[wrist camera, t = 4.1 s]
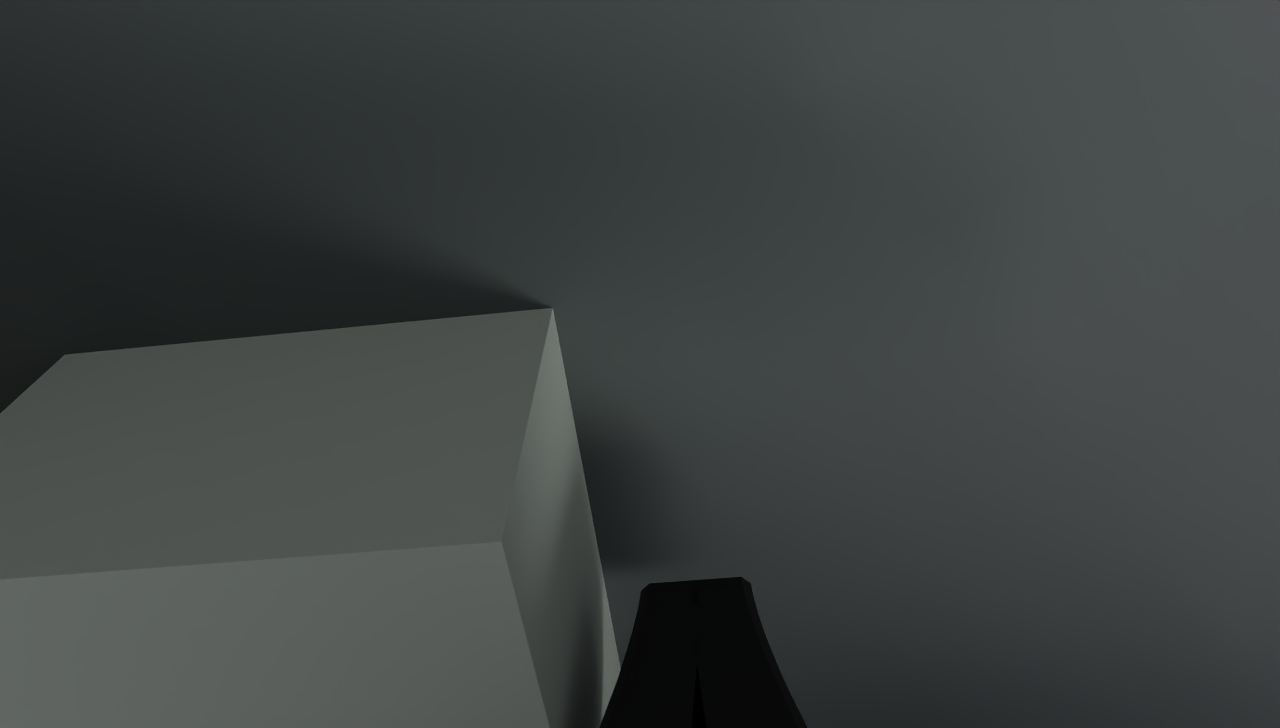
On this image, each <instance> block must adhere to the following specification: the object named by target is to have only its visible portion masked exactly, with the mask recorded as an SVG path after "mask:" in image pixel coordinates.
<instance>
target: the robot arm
mask: <svg viewBox="0 0 1280 728" xmlns="http://www.w3.org/2000/svg"><path fill="white" fill-rule="evenodd" d="M599 728H807V726H806V724H805V722H804V720H803V718H802V716H801V714H800V712H799V710H798V708H797V706H796V704H795V702H794V700H793V698H792V696H791V694H790V692H789V690H788V688H787V685H786V683H785V681H784V679H783V677H782V674H781V672H780V670H779V668H778V665H777V663H776V660H775V658H774V655H773V653H772V650H771V648H770V646H769V643H768V641H767V638H766V635H765V632H764V630H763V627H762V624H761V621H760V618H759V615H758V611H757V608H756V604H755V601H754V597H753V593H752V587H751V583H749V582H748V581H746V580H745V579H744V578H742V577H733V578H719V579H705V580H692V581H678V582H664V583H650V584H648V585H647V586H646V587H645V588H644V589H643V590H642V591H641V595H640V601H639V607H638V611H637V615H636V619H635V623H634V628H633V631H632V635H631V638H630V642H629V645H628V649H627V652H626V655H625V658H624V661H623V664H622V667H621V670H620V673H619V676H618V679H617V682H616V685H615V687H614V690H613V693H612V695H611V698H610V701H609V703H608V706H607V708H606V711H605V714H604V716H603V719H602V722H601V724H600V727H599Z"/></svg>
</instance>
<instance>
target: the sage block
mask: <svg viewBox="0 0 1280 728" xmlns="http://www.w3.org/2000/svg"><path fill="white" fill-rule="evenodd" d="M620 670H621V668H620V663H619V657H618V652H617V647H616V641H615V636H614V631H613V625H612V620H611V615H610V609H609V604H608V599H607V594H606V588H605V583H604V578H603V572H602V567H601V562H600V556H599V551H598V546H597V540H596V535H595V530H594V524H593V519H592V514H591V508H590V503H589V498H588V493H587V487H586V482H585V477H584V471H583V466H582V461H581V455H580V450H579V445H578V439H577V434H576V429H575V423H574V418H573V413H572V407H571V402H570V397H569V392H568V386H567V381H566V376H565V370H564V365H563V360H562V354H561V349H560V344H559V338H558V333H557V328H556V322H555V317H554V312H553V308H546V309H536V310H526V311H515V312H505V313H494V314H484V315H473V316H463V317H453V318H442V319H432V320H421V321H411V322H400V323H390V324H380V325H369V326H359V327H348V328H338V329H327V330H317V331H307V332H296V333H286V334H275V335H265V336H254V337H244V338H233V339H223V340H213V341H202V342H192V343H181V344H171V345H160V346H150V347H140V348H129V349H119V350H108V351H98V352H87V353H77V354H67V355H64V356H63V357H62V358H61V359H60V360H58V361H57V362H56V363H55V364H54V365H53V366H52V367H51V368H50V369H49V370H47V371H46V372H45V373H44V374H43V375H42V376H41V377H40V378H39V379H38V380H36V381H35V382H34V383H33V384H32V385H31V386H30V387H29V388H28V389H27V390H26V391H24V392H23V393H22V394H21V395H20V396H19V397H18V398H17V399H16V400H15V401H13V402H12V403H11V404H10V405H9V406H8V407H7V408H6V409H5V410H4V411H3V412H1V413H0V728H599V727H600V724H601V722H602V719H603V716H604V714H605V711H606V708H607V706H608V703H609V701H610V698H611V695H612V693H613V690H614V687H615V685H616V682H617V679H618V676H619V673H620Z"/></svg>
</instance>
